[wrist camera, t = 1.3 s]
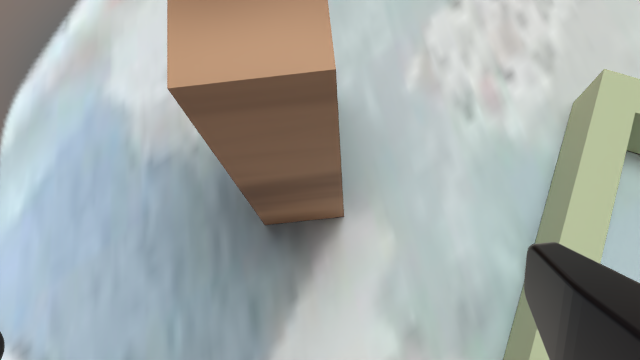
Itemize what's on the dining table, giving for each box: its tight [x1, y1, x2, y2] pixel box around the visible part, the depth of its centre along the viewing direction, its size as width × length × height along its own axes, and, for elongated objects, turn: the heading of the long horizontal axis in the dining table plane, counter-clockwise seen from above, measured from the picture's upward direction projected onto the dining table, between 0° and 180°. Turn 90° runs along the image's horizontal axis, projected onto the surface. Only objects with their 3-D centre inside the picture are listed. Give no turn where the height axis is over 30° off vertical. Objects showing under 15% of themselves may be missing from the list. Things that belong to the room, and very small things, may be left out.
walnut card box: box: [167, 0, 344, 225], centre depth 17 cm, size 6×4×12 cm, turn 6°
